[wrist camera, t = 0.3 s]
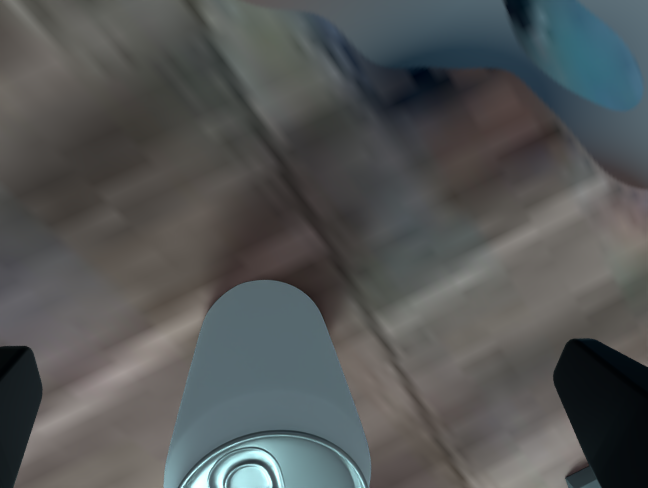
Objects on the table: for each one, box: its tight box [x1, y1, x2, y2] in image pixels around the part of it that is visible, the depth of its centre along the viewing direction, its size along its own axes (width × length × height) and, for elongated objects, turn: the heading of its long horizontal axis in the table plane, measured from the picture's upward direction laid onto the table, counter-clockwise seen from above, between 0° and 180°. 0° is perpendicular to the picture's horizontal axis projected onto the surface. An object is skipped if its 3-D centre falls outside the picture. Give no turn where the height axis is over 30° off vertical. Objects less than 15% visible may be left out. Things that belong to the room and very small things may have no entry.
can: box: [164, 280, 371, 488], centre depth 19 cm, size 6×6×12 cm
